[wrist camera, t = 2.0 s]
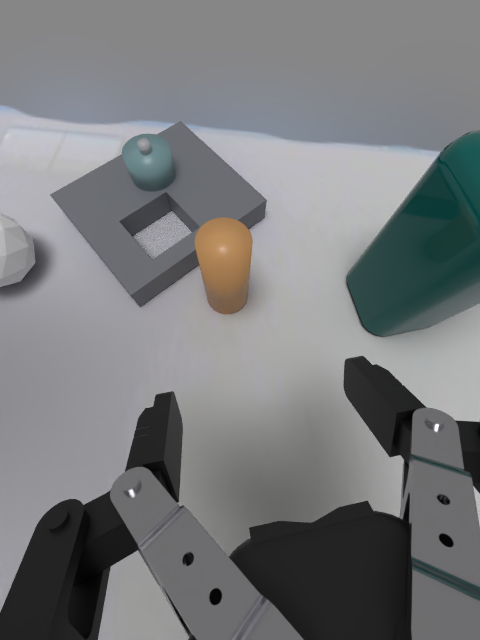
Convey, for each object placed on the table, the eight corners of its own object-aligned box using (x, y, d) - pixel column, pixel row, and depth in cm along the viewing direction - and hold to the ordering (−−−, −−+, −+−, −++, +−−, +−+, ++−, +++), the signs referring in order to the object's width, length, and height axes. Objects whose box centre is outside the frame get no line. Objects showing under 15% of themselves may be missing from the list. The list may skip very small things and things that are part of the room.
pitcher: (365, 341, 29) (677, 156, 9) (340, 270, 32) (530, 0, 11) (452, 323, 30) (926, 114, 9) (419, 255, 33) (733, -22, 12)
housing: (140, 306, 30) (113, 275, 24) (65, 213, 34) (24, 164, 28) (264, 217, 34) (270, 170, 28) (184, 143, 38) (173, 85, 32)
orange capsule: (224, 322, 30) (219, 277, 20) (199, 293, 31) (182, 238, 22) (255, 297, 31) (264, 244, 21) (229, 270, 32) (227, 208, 23)
